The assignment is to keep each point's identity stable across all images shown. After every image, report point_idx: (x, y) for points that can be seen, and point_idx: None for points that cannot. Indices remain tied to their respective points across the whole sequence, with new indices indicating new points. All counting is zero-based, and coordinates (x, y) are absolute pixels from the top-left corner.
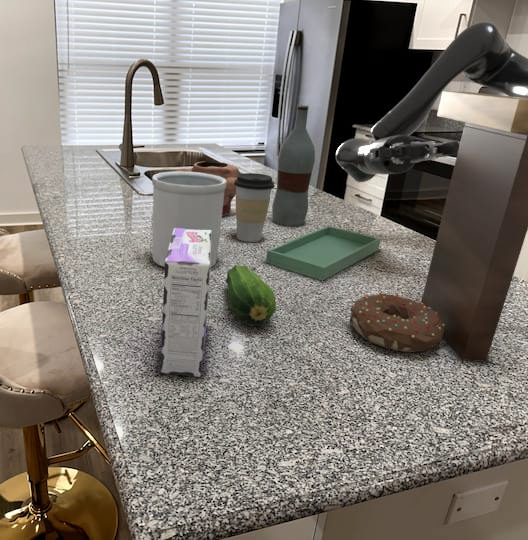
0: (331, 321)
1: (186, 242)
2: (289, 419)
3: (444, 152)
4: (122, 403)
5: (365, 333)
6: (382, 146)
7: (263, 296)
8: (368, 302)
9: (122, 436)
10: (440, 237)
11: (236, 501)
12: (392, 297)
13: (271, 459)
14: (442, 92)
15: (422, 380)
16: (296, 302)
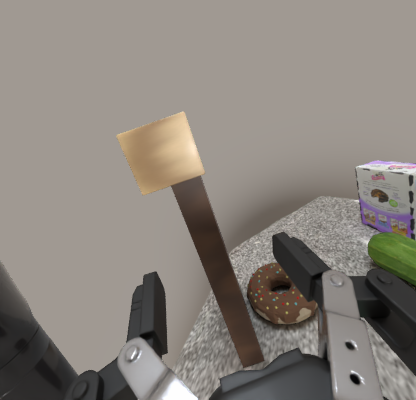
0: None
1: (393, 164)
2: (309, 224)
3: (164, 334)
4: None
5: None
6: (381, 274)
7: (373, 236)
8: None
9: (354, 200)
10: (238, 285)
11: (307, 205)
12: (286, 295)
13: (306, 214)
14: (185, 115)
15: (263, 263)
16: None
